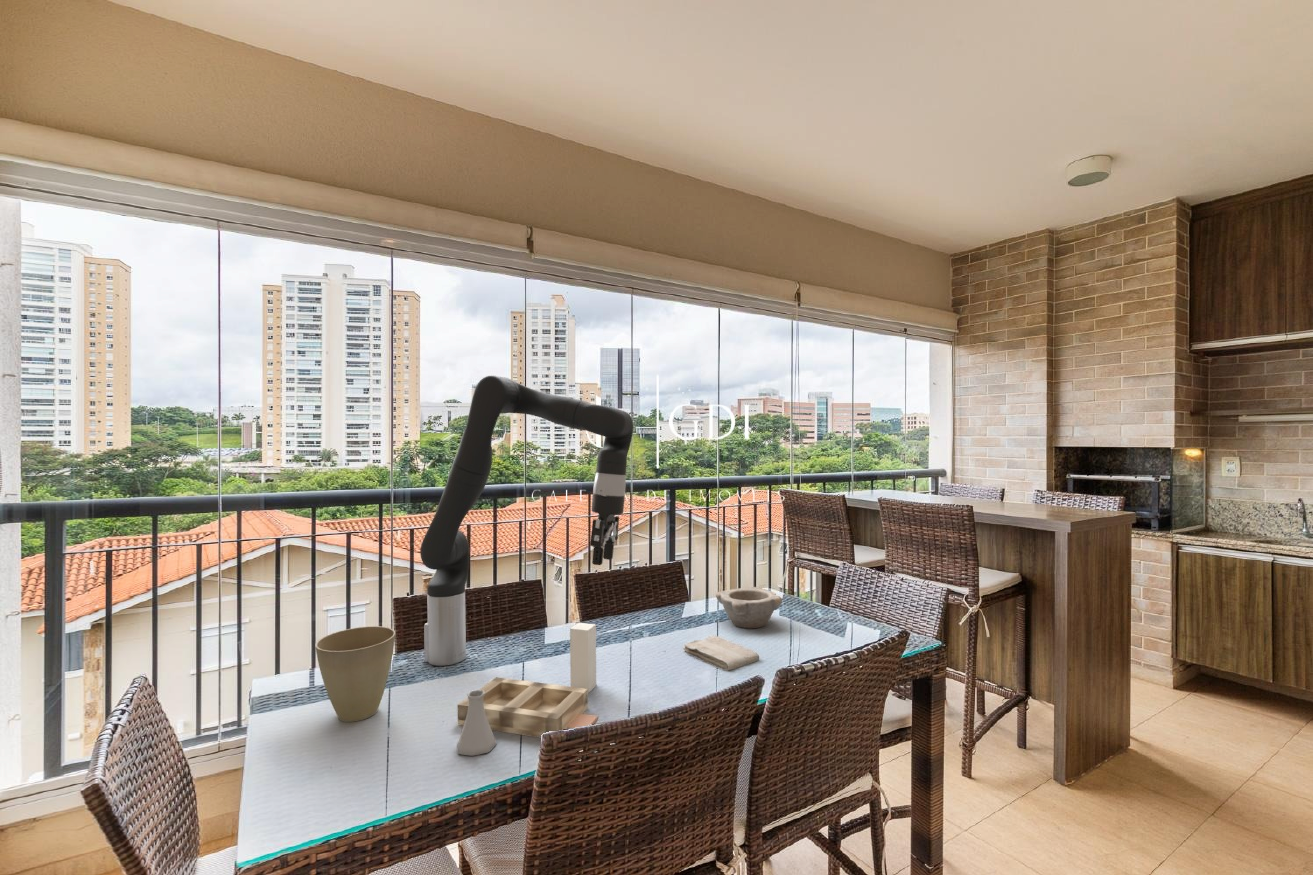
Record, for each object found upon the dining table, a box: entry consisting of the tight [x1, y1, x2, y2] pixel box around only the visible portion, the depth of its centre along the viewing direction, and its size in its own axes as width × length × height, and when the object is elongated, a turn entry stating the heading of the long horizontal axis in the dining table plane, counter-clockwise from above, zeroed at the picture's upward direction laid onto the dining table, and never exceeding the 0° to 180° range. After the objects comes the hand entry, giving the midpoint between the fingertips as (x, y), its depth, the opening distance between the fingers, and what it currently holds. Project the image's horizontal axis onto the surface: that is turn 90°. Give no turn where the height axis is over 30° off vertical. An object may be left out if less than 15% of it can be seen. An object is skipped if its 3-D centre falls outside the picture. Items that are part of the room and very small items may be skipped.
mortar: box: [715, 586, 783, 629], centre depth 182 cm, size 17×17×9 cm
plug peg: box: [569, 622, 597, 694], centre depth 137 cm, size 4×4×14 cm
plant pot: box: [314, 625, 396, 723], centre depth 125 cm, size 15×15×16 cm
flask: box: [456, 689, 497, 756], centre depth 112 cm, size 7×7×10 cm
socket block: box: [457, 676, 599, 739], centre depth 123 cm, size 26×14×4 cm, turn 73°
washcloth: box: [683, 635, 760, 672], centre depth 156 cm, size 12×18×3 cm, turn 38°
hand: (602, 561), depth 141 cm, fingers open, 8 cm apart
